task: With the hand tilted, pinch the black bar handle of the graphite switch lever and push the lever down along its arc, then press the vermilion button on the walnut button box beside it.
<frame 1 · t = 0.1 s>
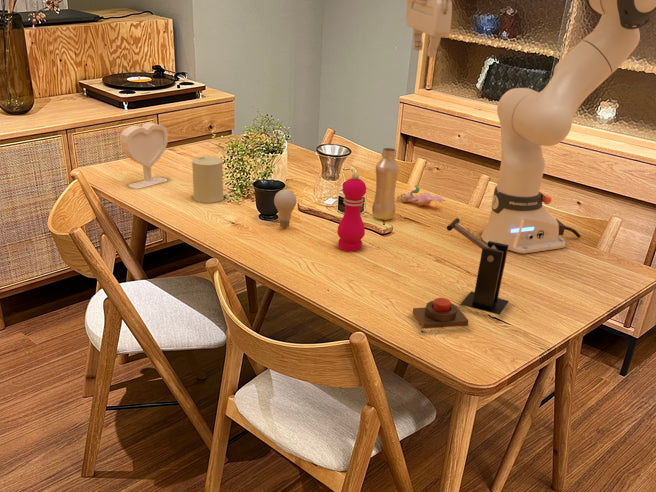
hand: (424, 53, 164), 48 cm above the table, tool pointing down, fingers open, 8 cm apart
switch bracket: (483, 307, 159), on the table
can: (208, 198, 215), on the table
heart sculpture: (148, 183, 225), on the table
button box: (439, 323, 152), on the table
pepper mill: (349, 247, 186), on the table
plastic bottle: (382, 218, 205), on the table
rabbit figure: (420, 205, 216), on the table
lightbulb: (284, 229, 196), on the table
switch lever: (475, 240, 153), point 15 cm above the table, hinge at 25.0°
start button: (441, 305, 149), point 4 cm above the table, slide at 0.1 cm
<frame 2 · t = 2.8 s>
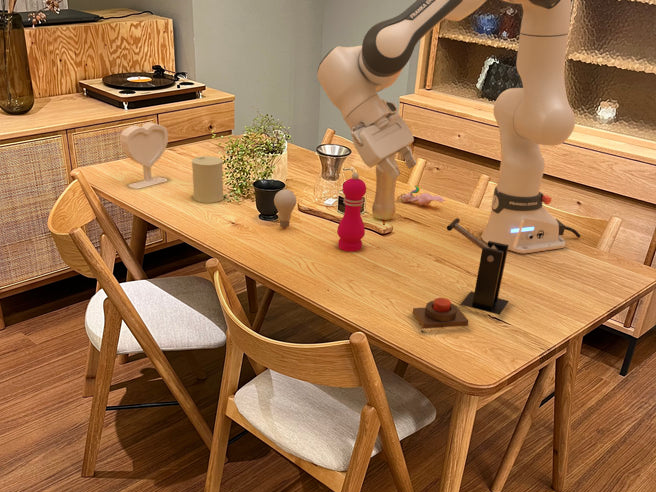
hand: (405, 171, 154), 27 cm above the table, tool tilted 45°, fingers open, 8 cm apart
nothing on the table moved.
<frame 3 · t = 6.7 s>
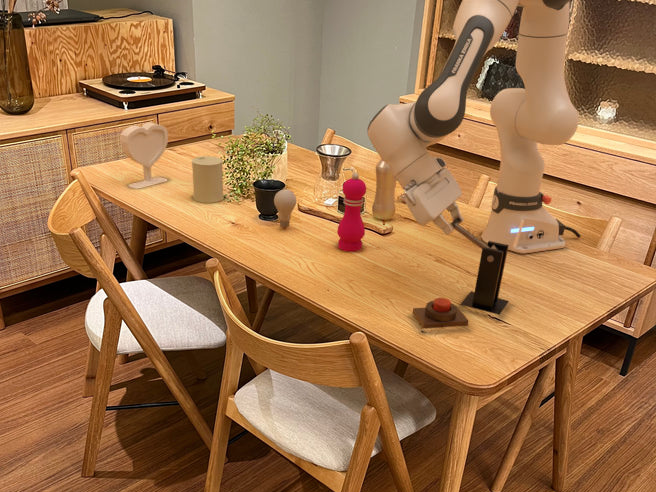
hand: (455, 227, 154), 17 cm above the table, tool tilted 45°, fingers closed on switch lever, 5 cm apart
switch lever: (475, 240, 153), point 15 cm above the table, hinge at 25.0°, touching gripper
everything else where it was.
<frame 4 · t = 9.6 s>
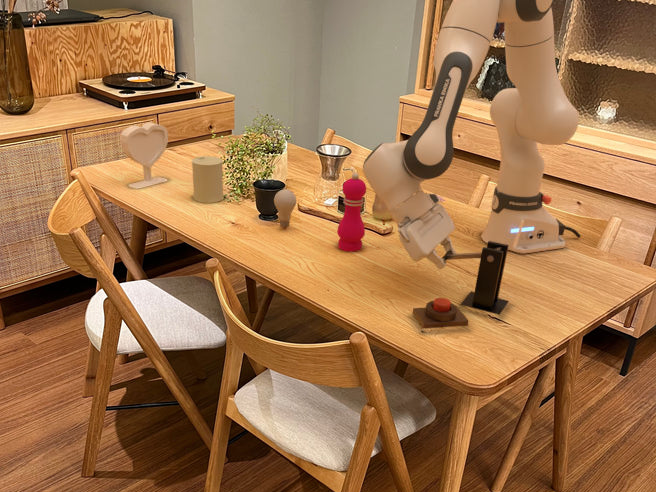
hand: (448, 261, 158), 9 cm above the table, tool tilted 45°, fingers closed on switch lever, 5 cm apart
switch lever: (471, 255, 155), point 11 cm above the table, hinge at -17.3°, touching gripper
everything else where it was.
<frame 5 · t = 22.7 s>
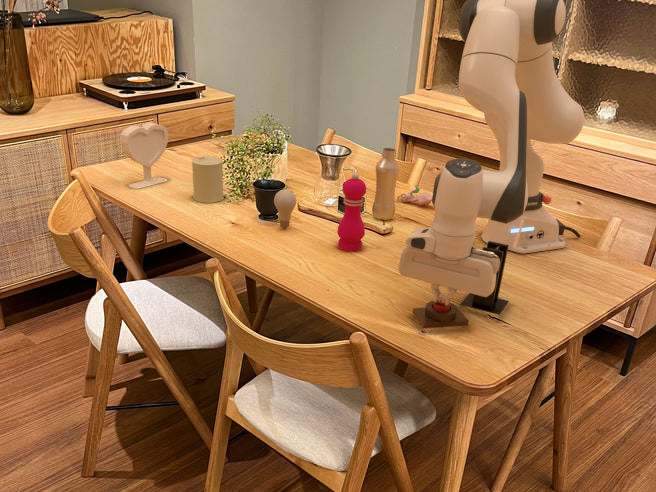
hand: (441, 303, 149), 5 cm above the table, tool pointing down, fingers closed, pressing on start button
switch lever: (472, 260, 155), point 10 cm above the table, hinge at -30.7°
start button: (441, 307, 150), point 4 cm above the table, slide at -0.4 cm, touching gripper
everything else where it was.
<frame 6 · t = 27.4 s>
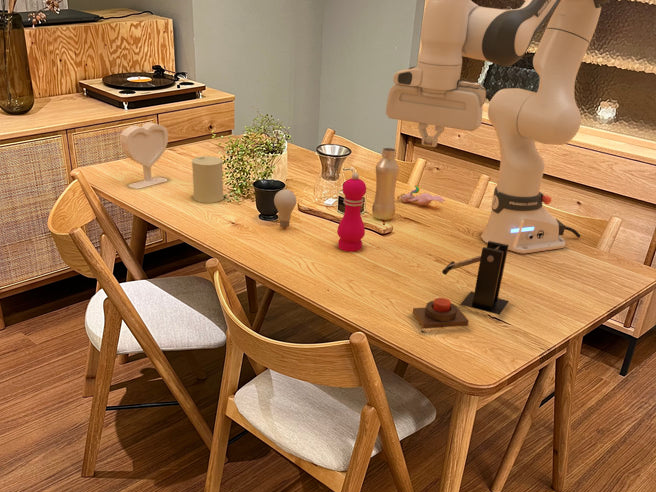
hand: (429, 145, 150), 33 cm above the table, tool pointing down, fingers closed
start button: (441, 305, 149), point 4 cm above the table, slide at 0.1 cm
everything else where it was.
at the end: switch lever at -31° (first picture: +25°); start button pushed in 0.9 cm at the most during the clip, back to where it started at the end; start button slide at 0.1 cm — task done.
